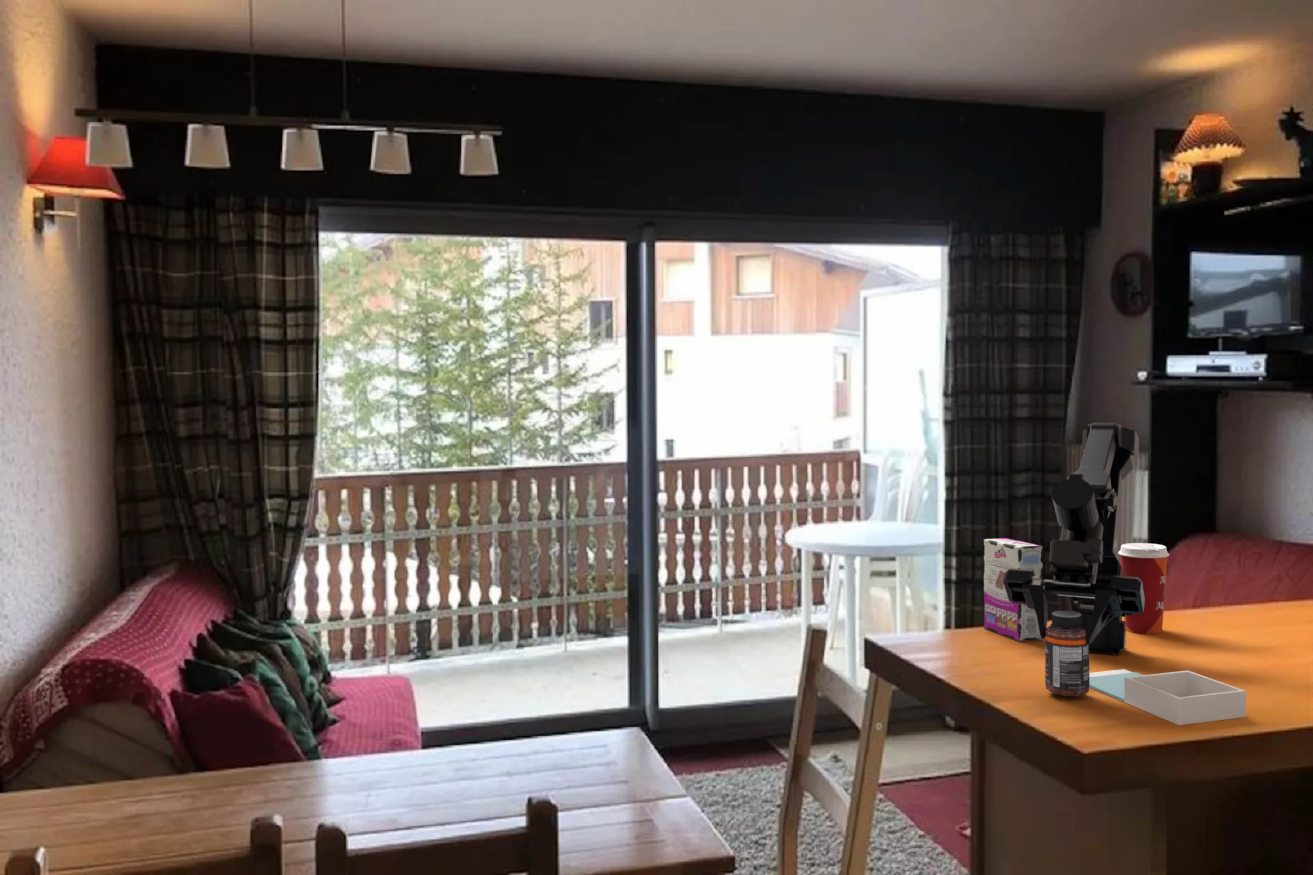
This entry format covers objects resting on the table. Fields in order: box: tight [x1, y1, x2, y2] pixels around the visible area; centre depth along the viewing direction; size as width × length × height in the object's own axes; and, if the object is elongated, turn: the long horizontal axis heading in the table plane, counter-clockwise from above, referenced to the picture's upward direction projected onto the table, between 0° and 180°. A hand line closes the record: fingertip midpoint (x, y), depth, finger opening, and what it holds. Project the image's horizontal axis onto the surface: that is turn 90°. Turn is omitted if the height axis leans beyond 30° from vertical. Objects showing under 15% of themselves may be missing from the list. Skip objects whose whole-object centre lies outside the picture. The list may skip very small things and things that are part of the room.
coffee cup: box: [1117, 542, 1170, 635], centre depth 191 cm, size 8×8×15 cm
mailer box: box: [1089, 668, 1247, 726], centre depth 153 cm, size 10×23×4 cm, turn 15°
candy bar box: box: [983, 537, 1044, 642], centre depth 190 cm, size 11×5×16 cm, turn 16°
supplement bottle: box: [1044, 609, 1091, 697], centre depth 154 cm, size 6×6×11 cm
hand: (1065, 640), depth 153 cm, fingers closed on supplement bottle, 6 cm apart
